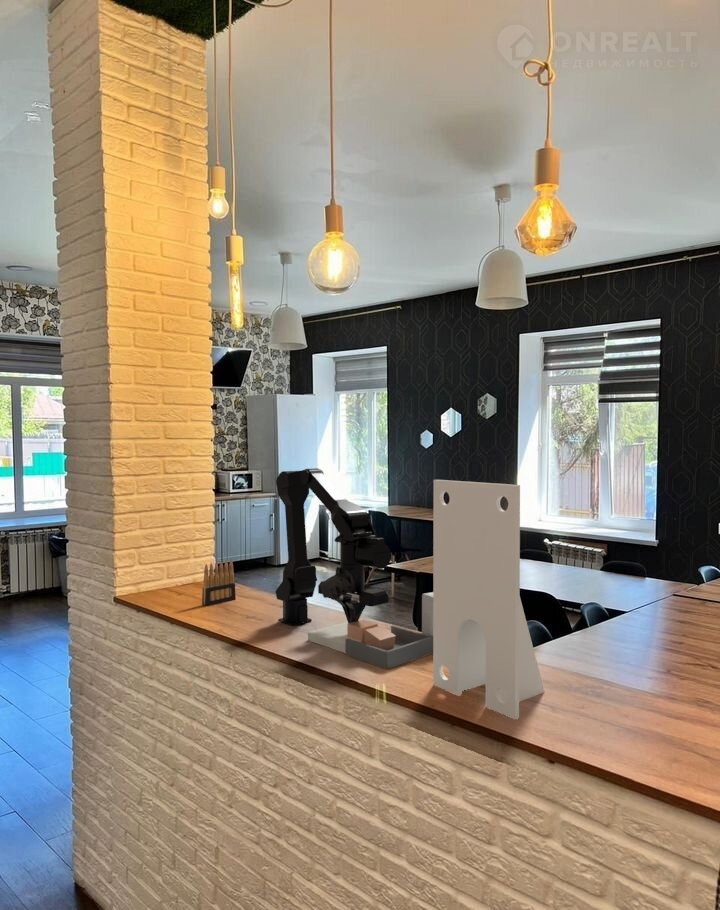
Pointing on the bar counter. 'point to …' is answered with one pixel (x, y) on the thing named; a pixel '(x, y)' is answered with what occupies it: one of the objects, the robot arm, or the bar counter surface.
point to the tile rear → (359, 629)
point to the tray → (392, 649)
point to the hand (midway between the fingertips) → (352, 628)
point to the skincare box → (427, 613)
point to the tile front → (379, 638)
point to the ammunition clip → (218, 584)
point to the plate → (331, 636)
